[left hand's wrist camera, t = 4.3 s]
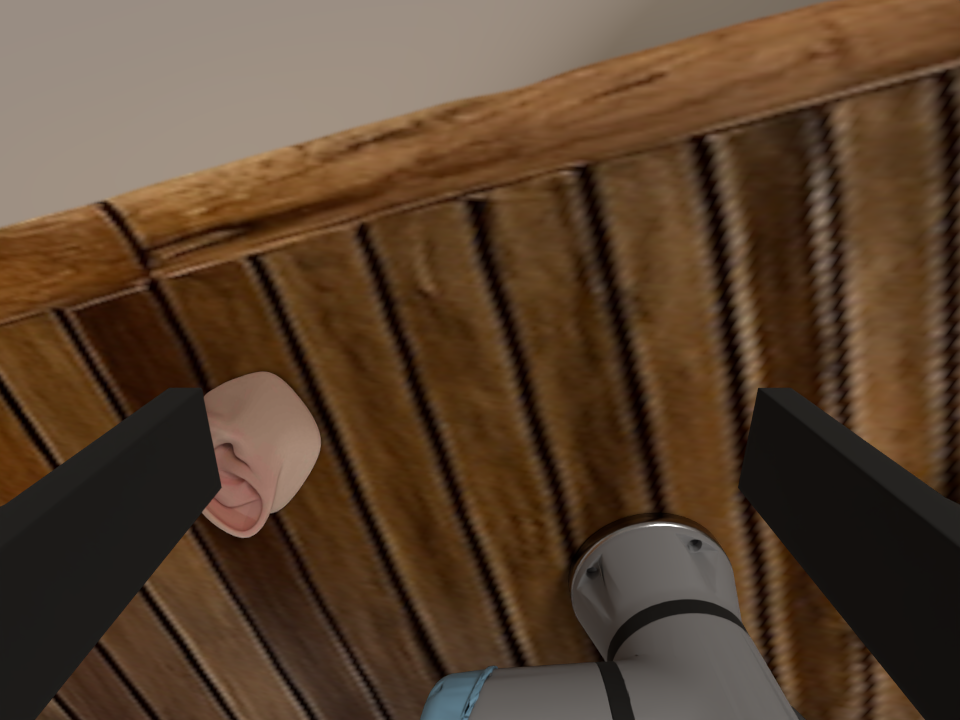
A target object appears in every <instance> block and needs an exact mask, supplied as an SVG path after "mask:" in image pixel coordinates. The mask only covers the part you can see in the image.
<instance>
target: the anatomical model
mask: <svg viewBox="0 0 960 720" xmlns="http://www.w3.org/2000/svg"><path fill="white" fill-rule="evenodd" d="M204 402H205V406H206V411H207V416H208V421H209V426H210V431H211V436H212V441H213V446H214V451H215V456H216V461H217V466H218V471H219V476H220V481H221V486H222V488H221V489H220V491H219V492H218V493H217V494H216V496H215V497H214V498H213V499H212V501H211V502H210V503H209V504H208V505H207V507H206V508H205V509H204V510H203V512H202V513H203V514H204V515H205V516H206V517H207V518H208V519H209V520H210V521H211V522H212V523H213V524H215V525H216V526H217V527H219V528H220V529H222V530H224V531H225V532H227V533H229V534H231V535H233V536H237V537H241V538H246V537H250V536H253V535H254V534H256V533H257V532H258V531H259V530H260V529H261V528H262V527H263V525H264V524H265V522H266V520H267V518H268V516H269V514H270V513H274V512H277V511H279V510H280V509H282V508H283V507H284V506H285V505H286V504H287V503H288V502H289V501H290V500H291V499H292V498H293V497H294V495H295V494H296V493H297V491H298V490H299V489H300V487H301V486H302V484H303V483H304V481H305V480H306V478H307V477H308V475H309V474H310V472H311V470H312V468H313V466H314V464H315V462H316V460H317V458H318V455H319V452H320V447H321V437H320V433H319V429H318V427H317V424H316V422H315V420H314V418H313V416H312V415H311V413H310V411H309V410H308V408H307V407H306V406H305V404H304V403H303V402H302V400H301V399H300V398H299V397H298V395H297V394H296V393H295V392H294V391H293V389H292V388H291V387H290V386H289V385H288V384H287V383H286V382H284V381H283V380H282V379H281V378H279V377H278V376H276V375H275V374H272V373H269V372H256V373H251V374H247V375H244V376H241V377H239V378H236V379H233V380H230V381H228V382H225V383H224V384H222V385H220V386H218V387H216V388H215V389H213V390H211V391H210V392H208V393H207V394H206V395H205V396H204Z"/></svg>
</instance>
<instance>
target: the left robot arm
mask: <svg viewBox="0 0 960 720" xmlns="http://www.w3.org/2000/svg"><path fill="white" fill-rule="evenodd" d="M221 488H222V486H221V481H220V476H219V471H218V466H217V461H216V456H215V451H214V446H213V441H212V436H211V431H210V426H209V421H208V416H207V411H206V406H205V402H204V397H203V392H202V388H169V389H167V390H166V391H164V392H163V393H161V394H160V395H159V396H157V397H156V398H154V399H153V400H152V401H150V402H149V403H147V404H146V405H145V406H143V407H142V408H140V409H139V410H138V411H136V412H135V413H133V414H132V415H131V416H129V417H128V418H126V419H125V420H123V421H122V422H121V423H119V424H118V425H116V426H115V427H114V428H112V429H111V430H109V431H108V432H107V433H105V434H104V435H102V436H101V437H100V438H98V439H97V440H95V441H94V442H92V443H91V444H90V445H88V446H87V447H85V448H84V449H83V450H81V451H80V452H78V453H77V454H76V455H74V456H73V457H71V458H70V459H69V460H67V461H66V462H64V463H63V464H62V465H60V466H59V467H57V468H56V469H54V470H53V471H52V472H50V473H49V474H47V475H46V476H45V477H43V478H42V479H40V480H39V481H38V482H36V483H35V484H33V485H32V486H31V487H29V488H28V489H26V490H25V491H23V492H22V493H21V494H19V495H18V496H16V497H15V498H14V499H12V500H11V501H9V502H8V503H7V504H5V505H3V506H1V507H0V720H35V719H36V718H37V716H38V715H39V714H40V713H41V712H42V710H43V709H44V708H45V707H46V705H47V704H48V703H49V702H50V700H51V699H52V698H53V697H54V695H55V694H56V693H57V692H58V690H59V689H60V688H61V687H62V685H63V684H64V683H65V682H66V680H67V679H68V678H69V677H70V676H71V674H72V673H73V672H74V671H75V669H76V668H77V667H78V666H79V664H80V663H81V662H82V661H83V659H84V658H85V657H86V656H87V654H88V653H89V652H90V651H91V649H92V648H93V647H94V646H95V644H96V643H97V642H98V641H99V640H100V638H101V637H102V636H103V635H104V633H105V632H106V631H107V630H108V628H109V627H110V626H111V625H112V623H113V622H114V621H115V620H116V618H117V617H118V616H119V615H120V613H121V612H122V611H123V610H124V608H125V607H126V606H127V605H128V604H129V602H130V601H131V600H132V599H133V597H134V596H135V595H136V594H137V592H138V591H139V590H140V589H141V587H142V586H143V585H144V584H145V582H146V581H147V580H148V579H149V577H150V576H151V575H152V574H153V573H154V571H155V570H156V569H157V568H158V566H159V565H160V564H161V563H162V561H163V560H164V559H165V558H166V556H167V555H168V554H169V553H170V551H171V550H172V549H173V548H174V546H175V545H176V544H177V543H178V541H179V540H180V539H181V538H182V537H183V535H184V534H185V533H186V532H187V530H188V529H189V528H190V527H191V525H192V524H193V523H194V522H195V520H196V519H197V518H198V517H199V515H200V514H201V513H202V512H203V510H204V509H205V508H206V507H207V505H208V504H209V503H210V502H211V501H212V499H213V498H214V497H215V496H216V494H217V493H218V492H219V491H220V489H221ZM738 488H739V489H740V491H741V492H742V493H743V494H744V496H745V497H746V498H747V499H748V501H749V502H750V503H751V504H752V505H753V507H754V508H755V509H756V510H757V512H758V513H759V514H760V515H761V517H762V518H763V519H764V520H765V522H766V523H767V524H768V525H769V527H770V528H771V529H772V530H773V532H774V533H775V534H776V535H777V537H778V538H779V539H780V540H781V541H782V543H783V544H784V545H785V546H786V548H787V549H788V550H789V551H790V553H791V554H792V555H793V556H794V558H795V559H796V560H797V561H798V563H799V564H800V565H801V566H802V568H803V569H804V570H805V571H806V573H807V574H808V575H809V576H810V577H811V579H812V580H813V581H814V582H815V584H816V585H817V586H818V587H819V589H820V590H821V591H822V592H823V594H824V595H825V596H826V597H827V599H828V600H829V601H830V602H831V604H832V605H833V606H834V607H835V608H836V610H837V611H838V612H839V613H840V615H841V616H842V617H843V618H844V620H845V621H846V622H847V623H848V625H849V626H850V627H851V628H852V630H853V631H854V632H855V633H856V635H857V636H858V637H859V638H860V640H861V641H862V642H863V643H864V644H865V646H866V647H867V648H868V649H869V651H870V652H871V653H872V654H873V656H874V657H875V658H876V659H877V661H878V662H879V663H880V664H881V666H882V667H883V668H884V669H885V671H886V672H887V673H888V674H889V676H890V677H891V678H892V679H893V680H894V682H895V683H896V684H897V685H898V687H899V688H900V689H901V690H902V692H903V693H904V694H905V695H906V697H907V698H908V699H909V700H910V702H911V703H912V704H913V705H914V707H915V708H916V709H917V710H918V712H919V713H920V714H921V715H922V716H923V718H924V719H925V720H960V504H958V503H956V502H953V501H951V500H949V499H947V498H945V497H944V496H942V495H941V494H939V493H938V492H937V491H935V490H934V489H932V488H931V487H929V486H928V485H927V484H925V483H924V482H922V481H921V480H920V479H918V478H917V477H915V476H914V475H913V474H911V473H910V472H908V471H907V470H906V469H904V468H903V467H901V466H900V465H898V464H897V463H896V462H894V461H893V460H891V459H890V458H889V457H887V456H886V455H884V454H883V453H882V452H880V451H879V450H877V449H876V448H875V447H873V446H872V445H870V444H869V443H868V442H866V441H865V440H863V439H862V438H860V437H859V436H858V435H856V434H855V433H853V432H852V431H851V430H849V429H848V428H846V427H845V426H844V425H842V424H841V423H839V422H838V421H837V420H835V419H834V418H832V417H831V416H829V415H828V414H827V413H825V412H824V411H822V410H821V409H820V408H818V407H817V406H815V405H814V404H813V403H811V402H810V401H808V400H807V399H806V398H804V397H803V396H801V395H800V394H799V393H797V392H796V391H794V390H793V389H791V388H758V392H757V397H756V402H755V406H754V411H753V416H752V421H751V426H750V431H749V436H748V441H747V446H746V451H745V456H744V461H743V466H742V471H741V476H740V481H739V486H738ZM569 591H570V596H571V601H572V605H573V609H574V612H575V614H576V617H577V619H578V620H579V622H580V623H581V625H582V626H583V628H584V629H585V631H586V632H587V634H588V635H589V637H590V638H591V640H592V641H593V643H594V644H595V646H596V647H597V649H598V650H599V652H600V653H601V655H602V656H603V658H604V660H605V661H606V662H588V663H573V664H558V665H543V666H528V667H513V668H498V667H497V666H489V667H487V668H486V669H484V670H476V671H469V672H461V673H453V674H449V675H447V676H445V677H443V678H442V679H441V680H439V681H438V682H437V683H436V684H435V686H434V687H433V689H432V690H431V692H430V694H429V696H428V698H427V701H426V703H425V705H424V708H423V712H422V715H421V718H420V720H806V719H805V718H804V717H803V716H802V715H801V714H800V713H799V712H797V711H796V710H795V709H794V708H793V707H792V706H791V705H790V704H789V702H788V700H787V699H786V697H785V695H784V694H783V692H782V690H781V688H780V687H779V685H778V683H777V682H776V680H775V678H774V677H773V675H772V673H771V671H770V670H769V668H768V666H767V665H766V663H765V661H764V659H763V658H762V656H761V654H760V653H759V651H758V649H757V648H756V646H755V644H754V642H753V641H752V639H751V638H750V636H749V634H748V632H747V631H746V629H745V627H744V625H743V624H742V621H741V615H740V609H739V604H738V598H737V592H736V586H735V580H734V574H733V569H732V566H731V563H730V561H729V559H728V557H727V555H726V554H725V552H724V551H723V549H722V547H721V546H720V544H719V543H718V541H717V540H716V538H715V537H714V536H713V535H712V534H711V533H710V532H709V531H708V530H707V529H706V528H704V527H703V526H701V525H700V524H698V523H696V522H694V521H692V520H690V519H688V518H685V517H682V516H678V515H673V514H667V513H644V514H638V515H633V516H629V517H626V518H623V519H620V520H617V521H615V522H613V523H611V524H609V525H607V526H605V527H603V528H602V529H600V530H599V531H597V532H596V533H595V534H593V535H592V536H591V537H590V538H589V539H588V540H587V541H586V542H585V543H584V544H583V545H582V547H581V548H580V549H579V551H578V552H577V554H576V556H575V558H574V560H573V562H572V565H571V568H570V573H569Z"/></svg>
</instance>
